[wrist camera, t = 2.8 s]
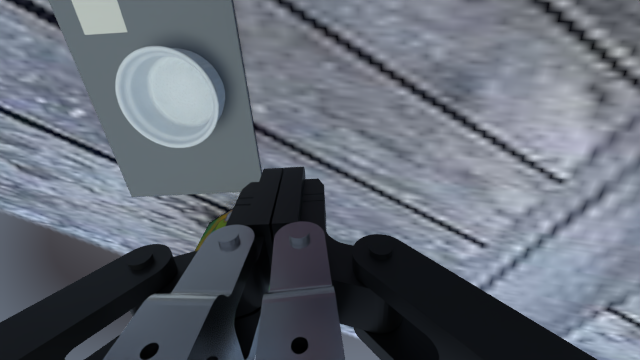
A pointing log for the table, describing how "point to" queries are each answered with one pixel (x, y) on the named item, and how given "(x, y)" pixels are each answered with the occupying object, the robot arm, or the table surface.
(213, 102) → the ramekin
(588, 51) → the table surface
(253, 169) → the label placard
